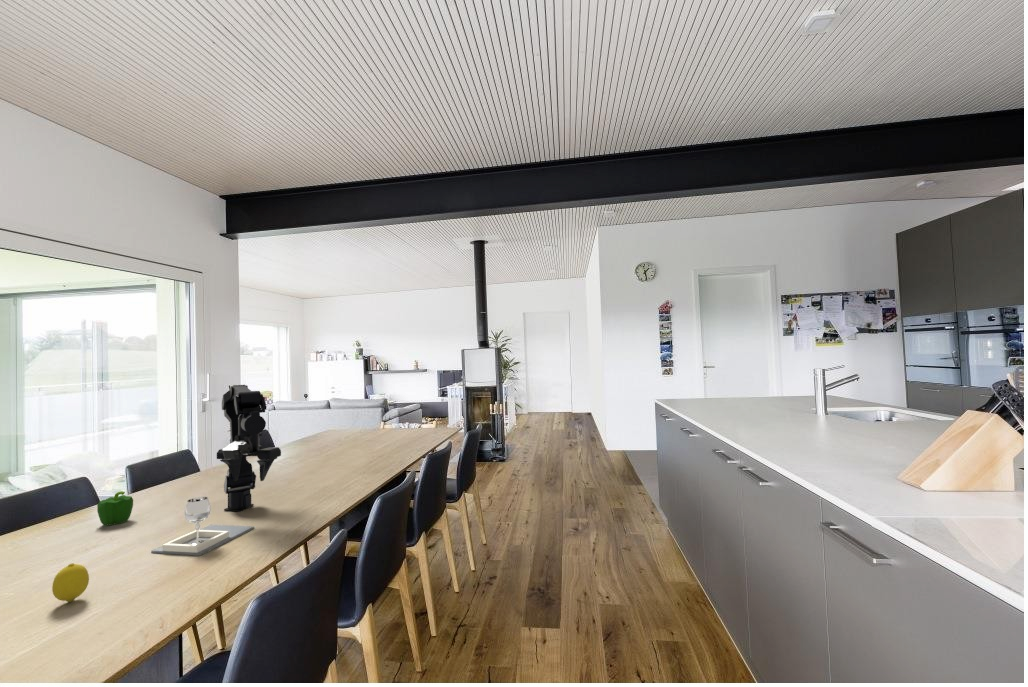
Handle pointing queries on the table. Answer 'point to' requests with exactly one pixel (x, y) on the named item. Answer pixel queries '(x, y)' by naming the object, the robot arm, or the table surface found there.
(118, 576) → the table surface
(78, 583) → the lemon
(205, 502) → the wineglass
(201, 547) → the square frame board
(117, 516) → the bell pepper
